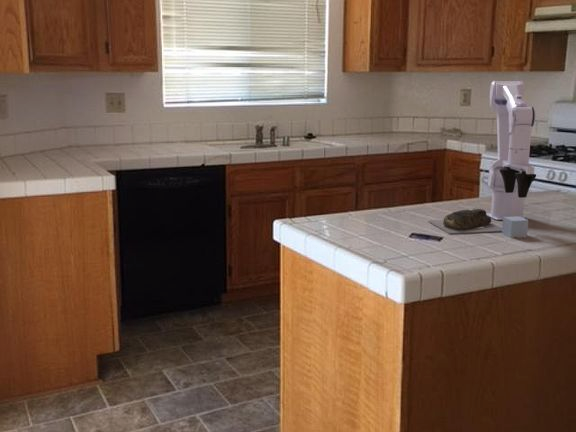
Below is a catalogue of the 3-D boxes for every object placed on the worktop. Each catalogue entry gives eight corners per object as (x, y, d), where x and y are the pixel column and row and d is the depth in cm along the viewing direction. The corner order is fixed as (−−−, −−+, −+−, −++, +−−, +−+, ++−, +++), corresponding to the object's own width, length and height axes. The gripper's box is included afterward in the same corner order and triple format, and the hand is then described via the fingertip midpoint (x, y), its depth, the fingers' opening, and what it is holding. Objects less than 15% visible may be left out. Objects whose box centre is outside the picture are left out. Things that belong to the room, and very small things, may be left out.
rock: (439, 226, 192) (440, 212, 191) (473, 219, 201) (474, 206, 200) (460, 231, 186) (461, 217, 185) (494, 224, 195) (495, 210, 194)
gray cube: (517, 233, 187) (519, 216, 185) (526, 237, 182) (528, 220, 181) (501, 233, 186) (503, 217, 185) (510, 238, 181) (511, 220, 180)
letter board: (482, 219, 203) (482, 218, 203) (507, 231, 188) (507, 230, 187) (428, 221, 200) (428, 220, 200) (449, 234, 185) (449, 232, 184)
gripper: (494, 146, 192) (491, 190, 195) (519, 151, 178) (515, 199, 181) (516, 145, 193) (513, 190, 196) (542, 151, 179) (538, 199, 182)
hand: (515, 194), depth 188 cm, fingers open, 7 cm apart
